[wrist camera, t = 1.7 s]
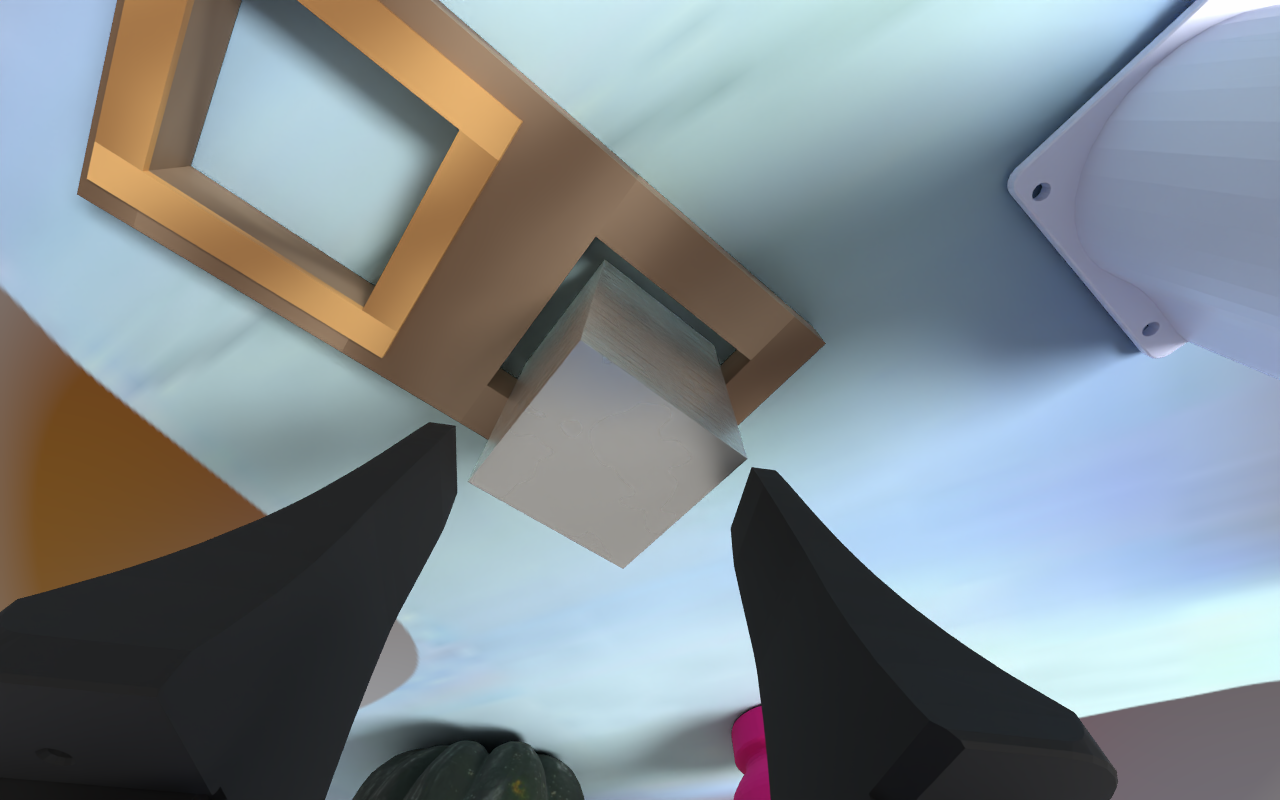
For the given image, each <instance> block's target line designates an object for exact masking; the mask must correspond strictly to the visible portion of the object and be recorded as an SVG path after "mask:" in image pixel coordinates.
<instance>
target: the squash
mask: <svg viewBox="0 0 1280 800" xmlns="http://www.w3.org/2000/svg"><path fill="white" fill-rule="evenodd" d="M352 800H584V796H583V793H582V790H581V786H580V784H579V782H578V780H577V778H576V776H575V775H574V773H573V772H572V770H571V769H570V768H569V767H568V766H567V765H565V764H564V763H563V762H562V761H560V760H558V759H556V758H554V757H551V756H548V755H543V754H539V755H537V753H536V752H535V751H534V750H533V748H532V747H531V746H530V745H529V744H526V743H523V742H513V741H510V742H507V743H504V744H502V745H500V746H498V747H496V748H495V749H494V750H493V751H492V752H491V753H490V754H488V752H487V751H486V749H485V748H484V746H482V745H481V744H480V743H478V742H475V741H458V742H456V743H453V744H451V745H450V746H445V745H442V746H435V747H430V748H423V749H416V750H411V751H407V752H405V753H402V754H399V755H397V756H395V757H393V758H391V759H390V760H388V761H387V762H386V763H384V764H383V765H381V766H380V767H379V768H377V769H376V770H375V771H374V772H372V773H371V775H370V776H369V777H368V778H367V779H366V780H365V782H364V783H363V784H362V785H361V787H360V789H359V790H358V792H357V793H356V795H355V796H354V798H353V799H352Z"/></svg>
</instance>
